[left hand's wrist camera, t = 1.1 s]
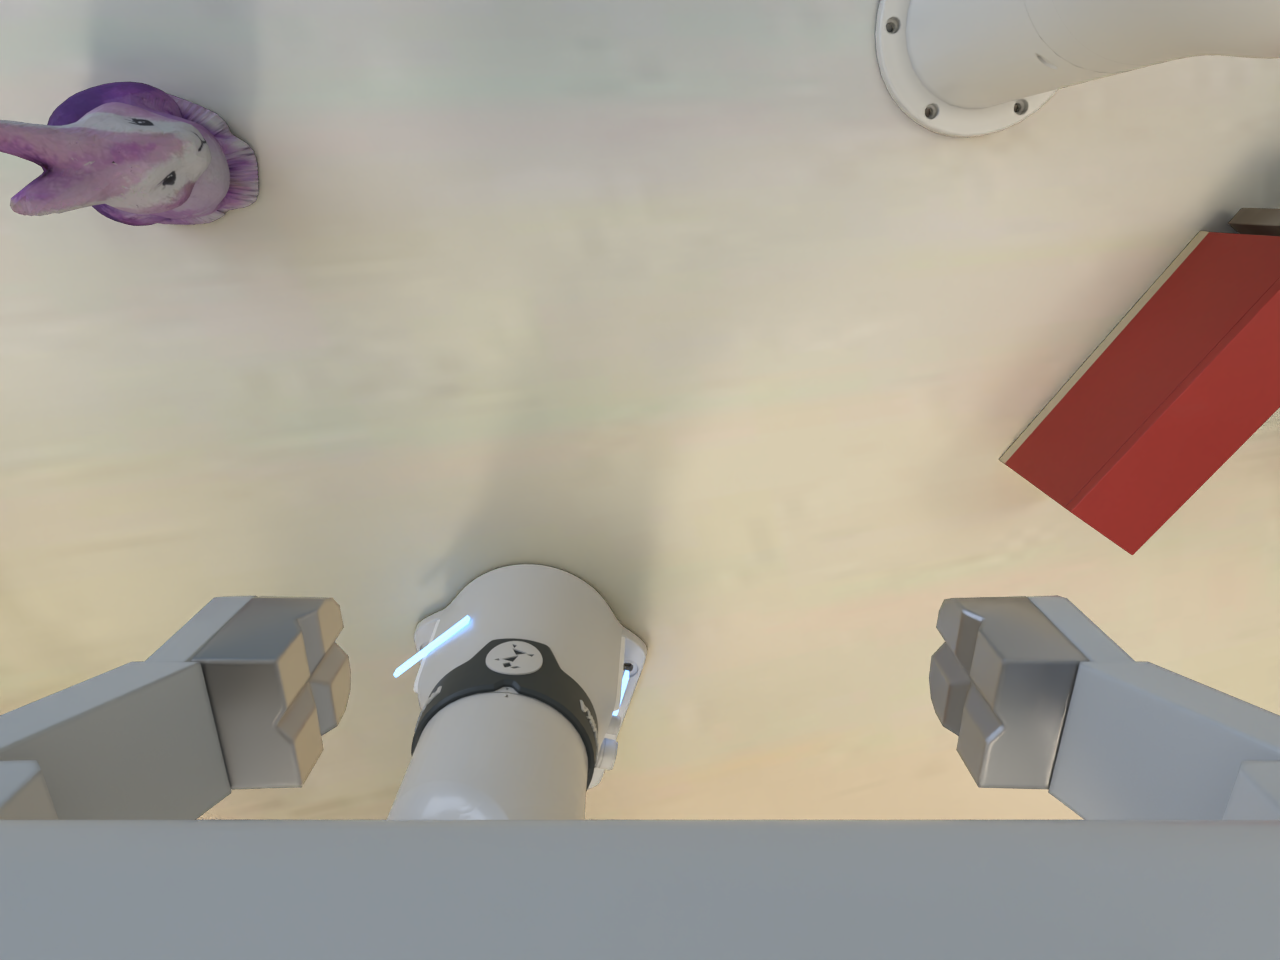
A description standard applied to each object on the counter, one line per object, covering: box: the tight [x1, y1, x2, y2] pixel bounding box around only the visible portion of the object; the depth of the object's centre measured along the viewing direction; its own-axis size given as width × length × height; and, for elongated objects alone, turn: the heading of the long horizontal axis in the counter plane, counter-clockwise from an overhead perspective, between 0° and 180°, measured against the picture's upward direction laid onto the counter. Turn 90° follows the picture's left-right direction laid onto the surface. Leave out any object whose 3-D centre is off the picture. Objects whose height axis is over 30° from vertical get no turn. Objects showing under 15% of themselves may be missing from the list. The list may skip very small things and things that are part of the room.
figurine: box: [0, 82, 259, 226], centre depth 41 cm, size 9×10×15 cm
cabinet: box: [999, 231, 1280, 555], centre depth 49 cm, size 19×6×10 cm, turn 147°
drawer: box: [1228, 208, 1280, 236], centre depth 47 cm, size 24×4×8 cm, turn 147°
